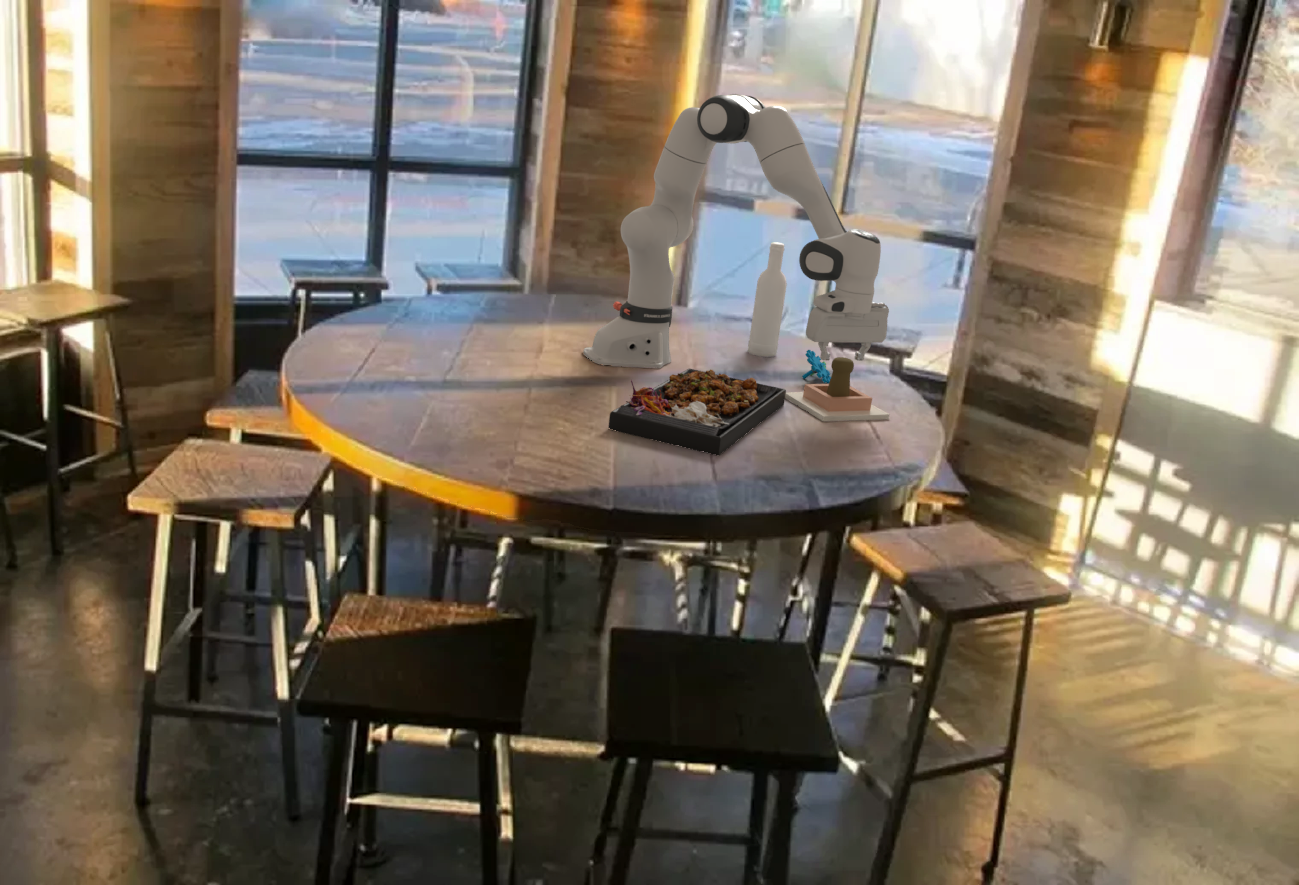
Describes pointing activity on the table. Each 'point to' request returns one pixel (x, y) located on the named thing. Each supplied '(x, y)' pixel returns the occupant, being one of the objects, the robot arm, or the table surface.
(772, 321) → the bottle
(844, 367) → the cork
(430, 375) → the table surface
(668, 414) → the food platter
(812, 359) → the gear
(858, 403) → the holder
